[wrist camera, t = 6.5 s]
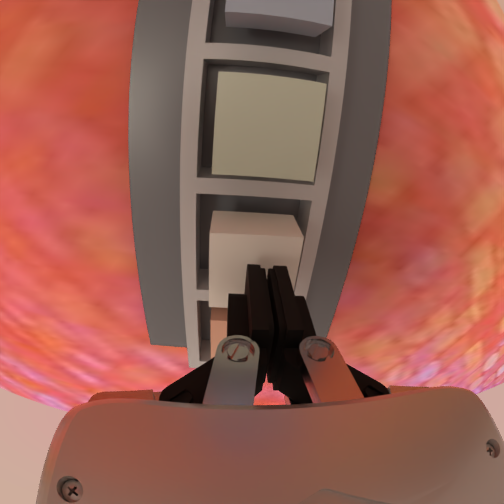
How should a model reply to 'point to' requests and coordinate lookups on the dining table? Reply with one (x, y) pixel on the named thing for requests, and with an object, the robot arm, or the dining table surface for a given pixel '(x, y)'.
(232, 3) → the key
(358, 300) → the dining table surface
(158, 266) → the keypad
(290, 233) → the key
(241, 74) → the key
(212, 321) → the key
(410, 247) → the dining table surface
